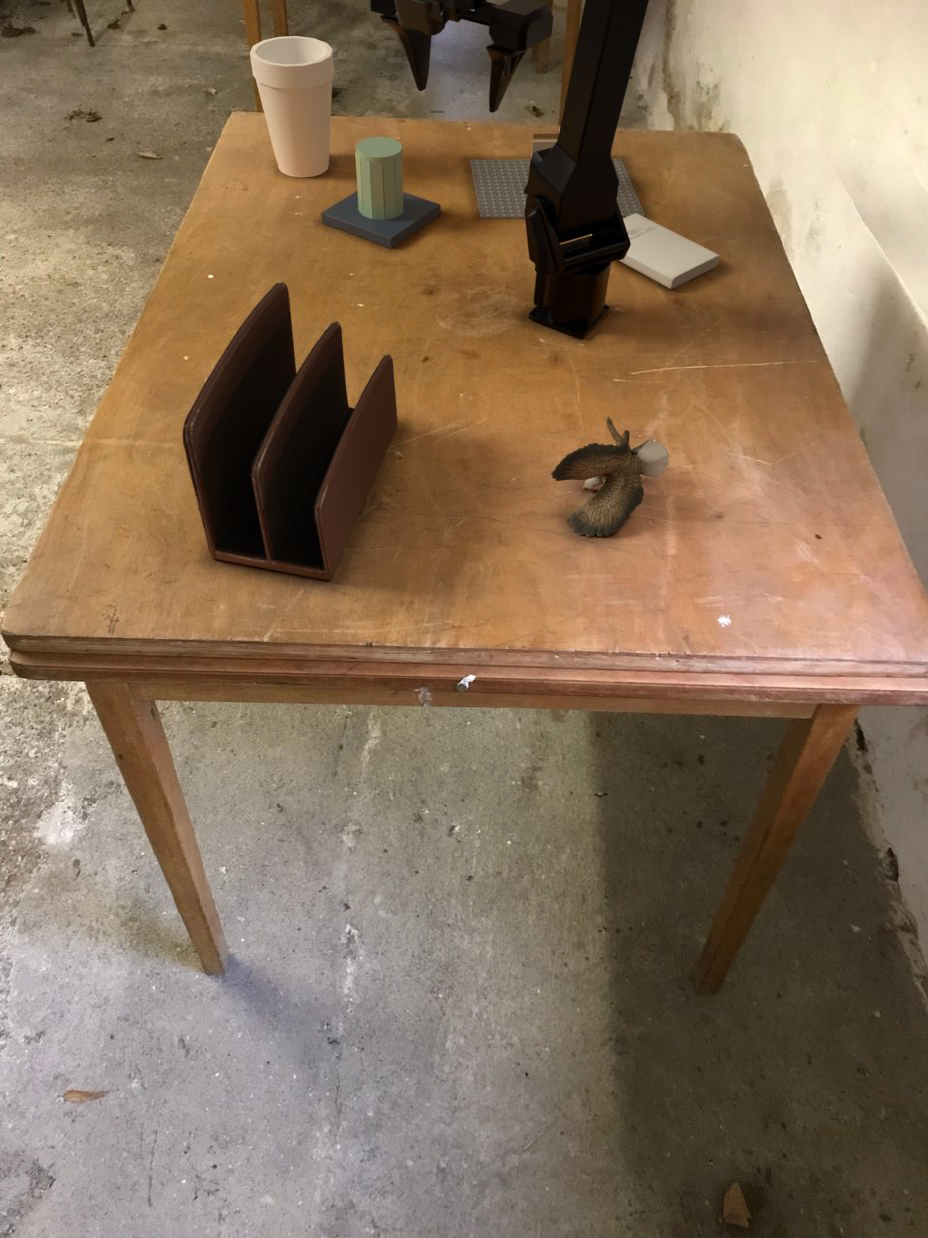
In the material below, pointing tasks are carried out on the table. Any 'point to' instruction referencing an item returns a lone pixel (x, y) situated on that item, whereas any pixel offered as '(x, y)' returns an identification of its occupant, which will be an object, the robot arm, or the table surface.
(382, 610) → the table surface
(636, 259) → the hard drive
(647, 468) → the eagle figurine
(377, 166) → the mint canister
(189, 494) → the table surface
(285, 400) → the letter holder
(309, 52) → the foam cup
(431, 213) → the cup stand
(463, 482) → the table surface
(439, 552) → the table surface
